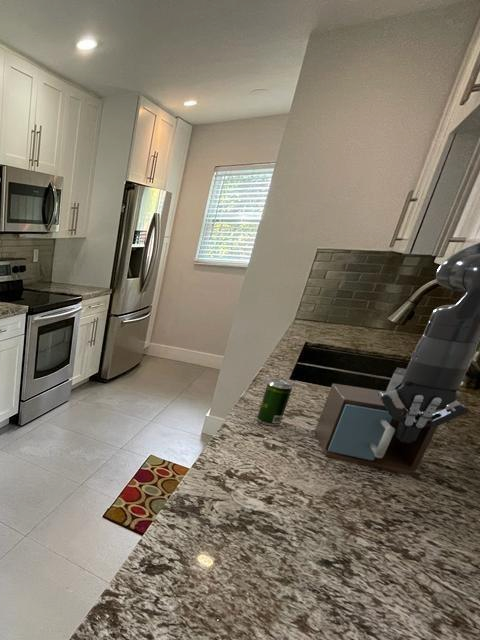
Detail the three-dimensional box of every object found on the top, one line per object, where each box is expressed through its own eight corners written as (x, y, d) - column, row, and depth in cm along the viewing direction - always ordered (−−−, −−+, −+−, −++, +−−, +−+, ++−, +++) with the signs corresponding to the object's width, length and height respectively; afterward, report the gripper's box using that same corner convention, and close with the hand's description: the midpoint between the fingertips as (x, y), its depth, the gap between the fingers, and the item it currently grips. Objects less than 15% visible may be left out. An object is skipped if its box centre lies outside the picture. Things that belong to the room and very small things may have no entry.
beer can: (284, 425, 111) (298, 384, 107) (269, 427, 110) (282, 386, 105) (266, 417, 116) (279, 377, 111) (251, 418, 114) (263, 378, 110)
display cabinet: (396, 449, 100) (420, 396, 95) (418, 477, 89) (447, 419, 84) (314, 432, 107) (332, 383, 102) (325, 456, 96) (346, 402, 91)
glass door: (372, 459, 92) (393, 412, 88) (381, 472, 87) (403, 423, 83) (327, 449, 96) (345, 404, 92) (333, 461, 91) (352, 413, 87)
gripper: (399, 360, 78) (367, 440, 84) (501, 372, 72) (457, 457, 78) (386, 351, 84) (356, 426, 91) (478, 361, 78) (440, 441, 84)
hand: (403, 440), depth 84 cm, fingers closed
